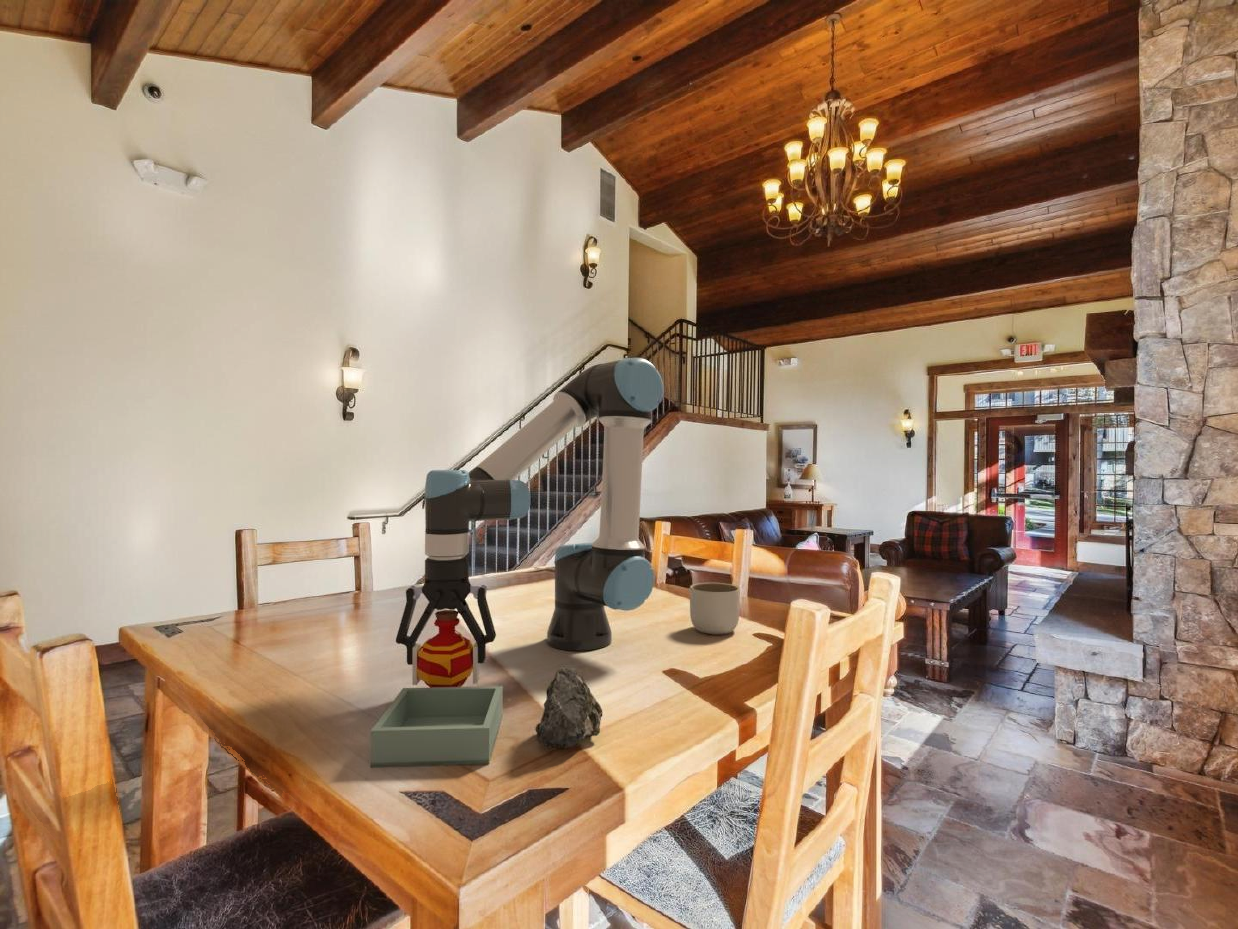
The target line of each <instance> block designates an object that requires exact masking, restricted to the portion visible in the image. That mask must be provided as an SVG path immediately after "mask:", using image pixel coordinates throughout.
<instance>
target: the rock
mask: <svg viewBox="0 0 1238 929" xmlns="http://www.w3.org/2000/svg"><path fill="white" fill-rule="evenodd" d="M590 689H591V688H590V687H589V686H588V684H587V683H586V682H585V679H584V677H583V676H582V675H581V674H580V673H579V671H578V669H577V668H575V667H572V668H567V667H563V666H562V667H561V666H560V667H559V668H558V669H557V670H556V671H555V674H554V677H553V679H552V681H551V682H550V684H549V686H548V687H547V688H546V691H545V693H546V700H545V701H544V703H543V707H544V708H543V711H542V716H541V719H540V723H537V724H536V726H535V732H536V739H537V740H536V741H537V743H538V744H543V745H544V746H545V745H546V746H549V747H550V748H551V749H559V748H563V749H565V750H566V749H568V748H571V747H575V746H576V745H577V744H579V743H580V742H582V741H583V740H586V739H589V738H592V737H596V736H598V735H599V734H600V733H601V732H600V731H601V722H602V718H603V709H602V708H601V705H600V703H599V701H597V700H596V697H594V695H593V694H592V692H591V690H590Z"/></svg>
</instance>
